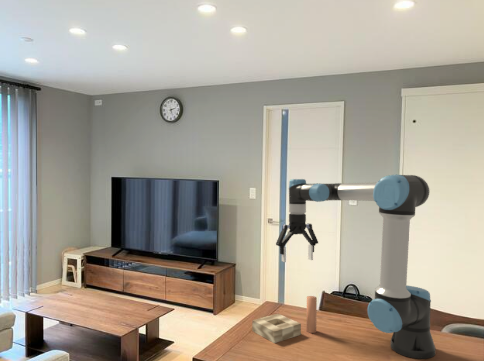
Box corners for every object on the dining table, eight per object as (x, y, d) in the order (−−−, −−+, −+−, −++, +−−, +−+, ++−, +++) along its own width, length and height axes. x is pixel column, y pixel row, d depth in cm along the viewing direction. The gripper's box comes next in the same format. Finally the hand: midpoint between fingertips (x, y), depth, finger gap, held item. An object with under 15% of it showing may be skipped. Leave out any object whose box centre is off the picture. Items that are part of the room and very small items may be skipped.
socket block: (300, 334, 154) (300, 323, 154) (274, 343, 146) (274, 331, 145) (278, 323, 165) (278, 313, 165) (252, 331, 157) (252, 320, 157)
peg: (318, 331, 157) (318, 297, 157) (311, 334, 154) (311, 299, 154) (311, 328, 160) (311, 295, 160) (304, 330, 158) (304, 297, 157)
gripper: (317, 211, 179) (316, 257, 179) (268, 213, 170) (268, 260, 170) (325, 213, 172) (325, 260, 172) (275, 214, 163) (275, 264, 163)
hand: (297, 260), depth 171 cm, fingers open, 13 cm apart
